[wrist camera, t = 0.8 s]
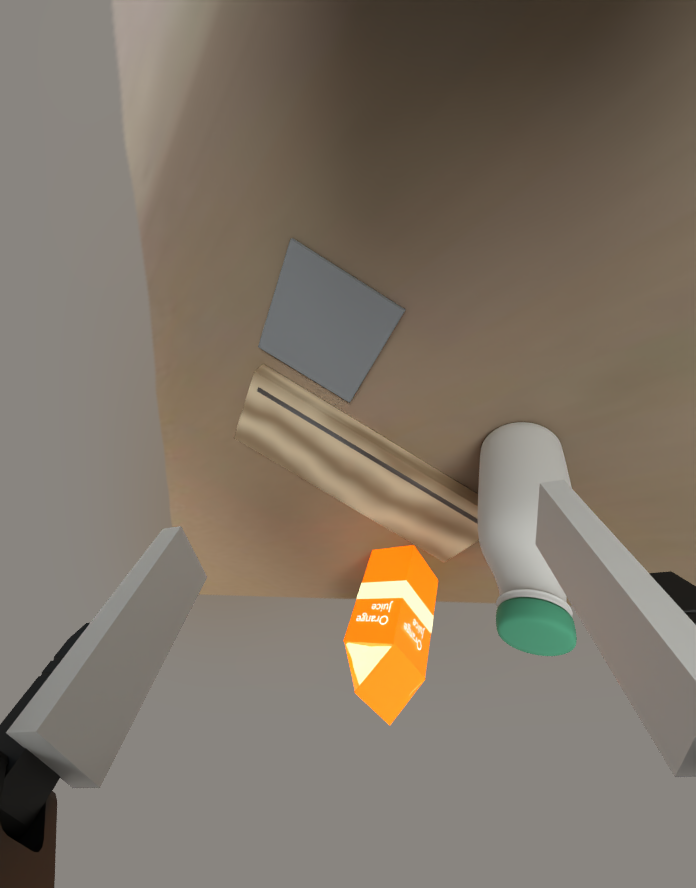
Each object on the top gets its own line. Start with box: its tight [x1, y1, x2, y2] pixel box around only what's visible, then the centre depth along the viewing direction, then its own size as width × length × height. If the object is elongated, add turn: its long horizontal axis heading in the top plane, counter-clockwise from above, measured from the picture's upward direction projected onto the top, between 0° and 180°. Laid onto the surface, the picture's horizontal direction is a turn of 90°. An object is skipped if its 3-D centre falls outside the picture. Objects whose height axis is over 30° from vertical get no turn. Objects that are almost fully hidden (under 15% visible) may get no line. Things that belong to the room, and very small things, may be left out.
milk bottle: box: [478, 422, 577, 656], centre depth 30 cm, size 8×8×20 cm
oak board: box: [234, 364, 479, 562], centre depth 45 cm, size 12×34×2 cm, turn 64°
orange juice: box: [344, 545, 438, 725], centre depth 49 cm, size 8×9×20 cm
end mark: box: [258, 238, 405, 403], centre depth 36 cm, size 12×12×1 cm
